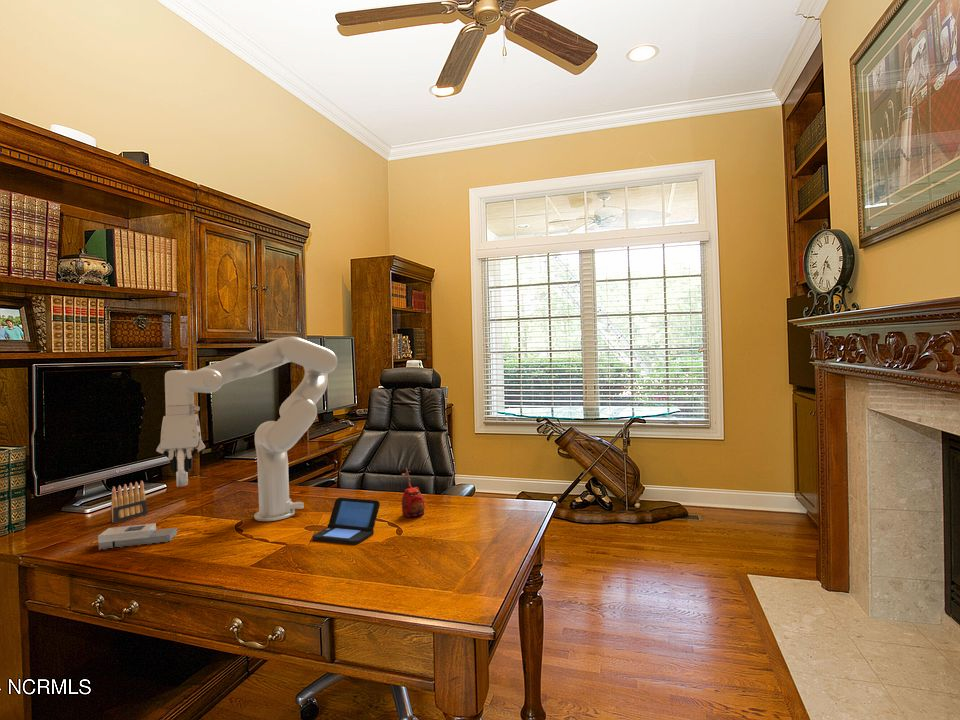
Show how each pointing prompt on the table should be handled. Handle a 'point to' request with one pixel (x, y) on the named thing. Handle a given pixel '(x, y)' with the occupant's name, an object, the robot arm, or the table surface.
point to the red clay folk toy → (412, 501)
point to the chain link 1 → (124, 534)
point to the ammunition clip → (128, 503)
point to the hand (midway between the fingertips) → (181, 471)
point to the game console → (350, 521)
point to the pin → (181, 467)
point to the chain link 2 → (150, 538)
